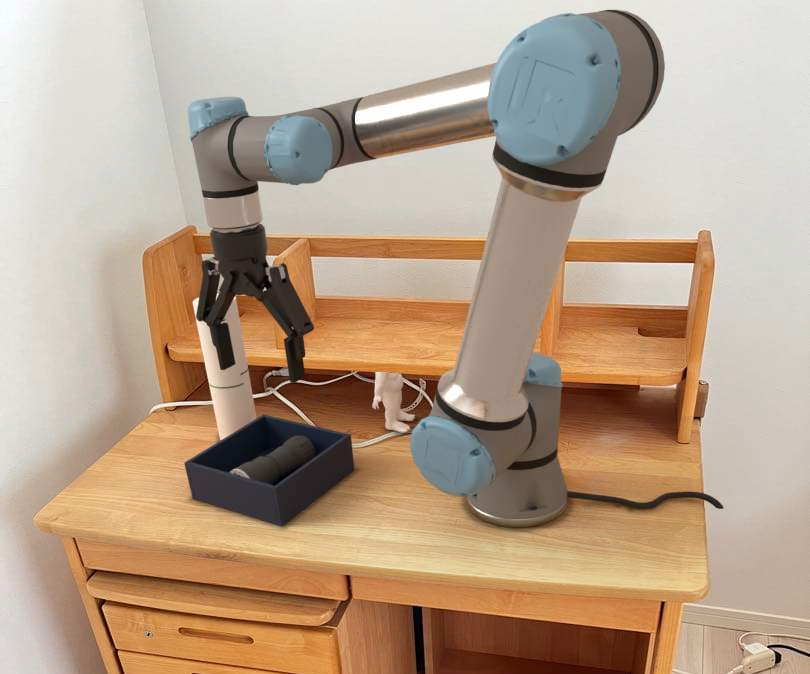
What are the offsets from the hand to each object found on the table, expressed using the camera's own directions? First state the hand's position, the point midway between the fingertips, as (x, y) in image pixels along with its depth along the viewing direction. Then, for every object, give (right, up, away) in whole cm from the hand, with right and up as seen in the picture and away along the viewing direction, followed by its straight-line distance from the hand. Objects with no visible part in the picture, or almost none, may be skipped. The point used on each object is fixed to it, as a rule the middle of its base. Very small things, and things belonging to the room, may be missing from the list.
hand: (262, 373), depth 124 cm
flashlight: (0, -16, +10) cm, 19 cm away
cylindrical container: (-9, -6, +26) cm, 29 cm away
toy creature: (+20, -4, +27) cm, 34 cm away
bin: (0, -16, +10) cm, 19 cm away
